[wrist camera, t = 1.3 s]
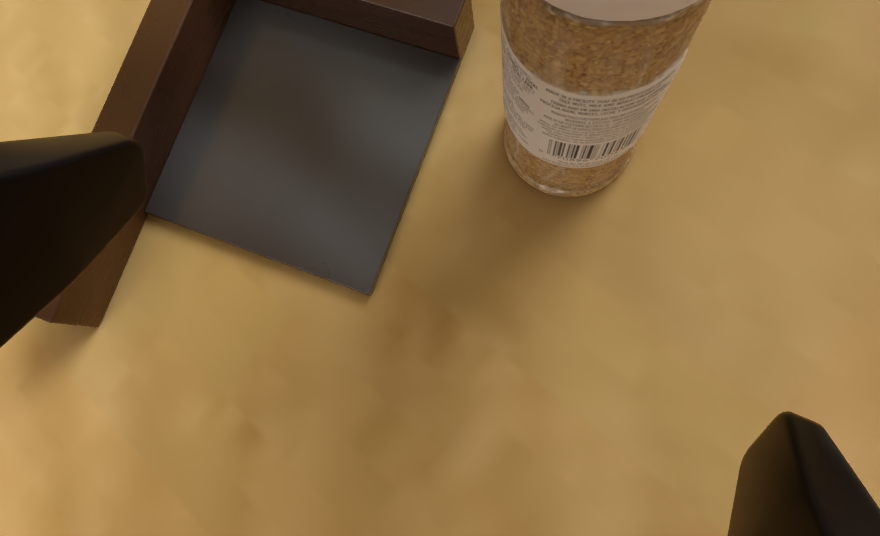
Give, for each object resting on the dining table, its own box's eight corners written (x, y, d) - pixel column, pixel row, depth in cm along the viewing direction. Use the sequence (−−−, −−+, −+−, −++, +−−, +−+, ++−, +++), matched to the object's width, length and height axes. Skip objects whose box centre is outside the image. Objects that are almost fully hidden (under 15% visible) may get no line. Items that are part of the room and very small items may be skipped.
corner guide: (323, 419, 22) (298, 426, 19) (64, 313, 23) (12, 307, 21) (474, 26, 23) (470, -14, 21) (222, -47, 25) (190, -92, 23)
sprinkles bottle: (642, 85, 22) (833, -326, 9) (623, 211, 22) (795, -32, 8) (512, 68, 23) (512, -340, 10) (490, 190, 22) (456, -66, 9)
